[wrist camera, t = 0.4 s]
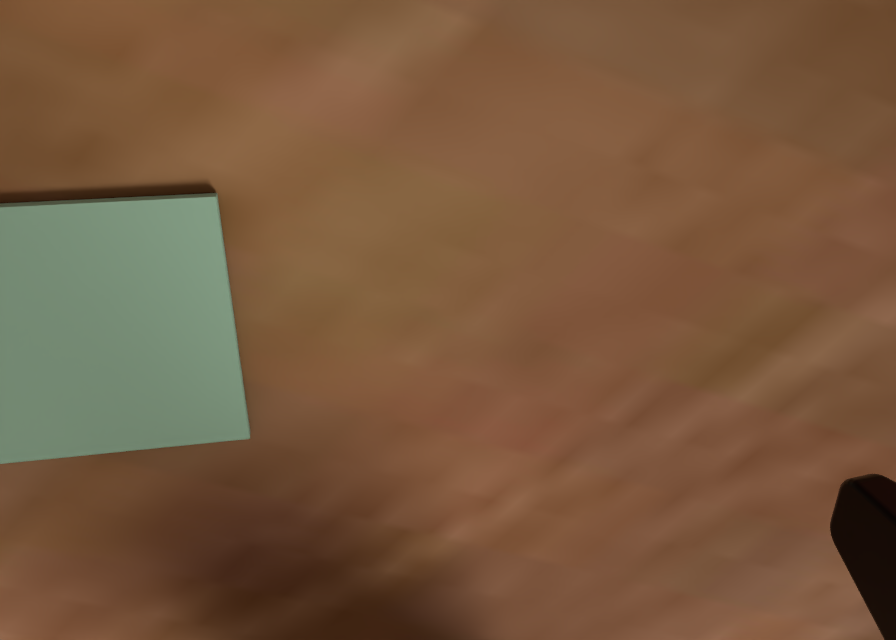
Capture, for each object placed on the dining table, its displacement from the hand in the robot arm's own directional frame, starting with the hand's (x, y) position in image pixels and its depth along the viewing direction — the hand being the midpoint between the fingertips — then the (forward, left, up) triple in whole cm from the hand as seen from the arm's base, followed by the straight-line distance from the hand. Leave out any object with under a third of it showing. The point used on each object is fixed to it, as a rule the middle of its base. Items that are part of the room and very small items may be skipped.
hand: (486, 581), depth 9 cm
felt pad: (-4, +8, -14) cm, 17 cm away
